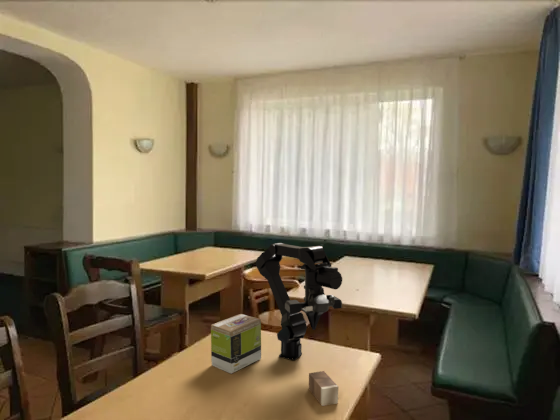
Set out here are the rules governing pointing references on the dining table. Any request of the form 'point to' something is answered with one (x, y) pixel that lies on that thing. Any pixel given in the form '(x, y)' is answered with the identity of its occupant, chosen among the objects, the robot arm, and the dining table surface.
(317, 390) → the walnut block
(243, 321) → the tea box
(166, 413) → the dining table surface
